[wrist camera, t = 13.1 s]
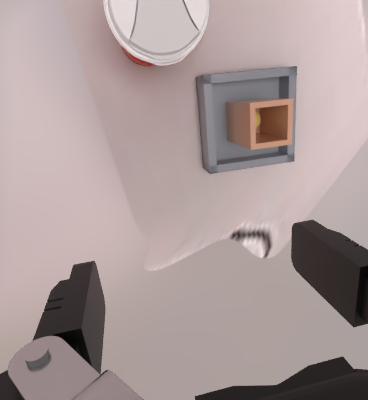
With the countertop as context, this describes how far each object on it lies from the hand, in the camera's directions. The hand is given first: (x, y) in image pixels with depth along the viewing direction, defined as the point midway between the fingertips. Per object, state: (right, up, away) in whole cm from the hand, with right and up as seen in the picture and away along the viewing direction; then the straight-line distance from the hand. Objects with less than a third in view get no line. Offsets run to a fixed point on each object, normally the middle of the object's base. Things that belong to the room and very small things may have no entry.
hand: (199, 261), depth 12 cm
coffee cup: (-5, +22, +24) cm, 33 cm away
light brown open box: (+7, +13, +28) cm, 32 cm away
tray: (+7, +14, +29) cm, 33 cm away
